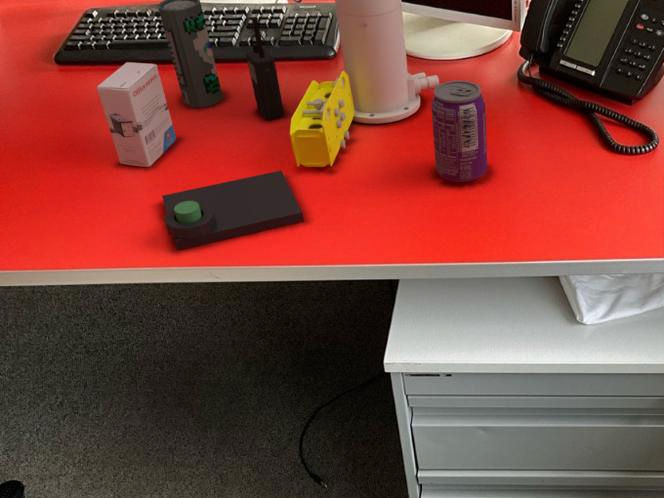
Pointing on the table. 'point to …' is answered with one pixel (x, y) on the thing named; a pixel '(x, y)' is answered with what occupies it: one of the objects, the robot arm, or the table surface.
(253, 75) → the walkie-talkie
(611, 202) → the table surface
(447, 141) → the beverage can
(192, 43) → the can
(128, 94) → the ink box
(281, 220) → the scale
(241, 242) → the table surface
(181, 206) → the button
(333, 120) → the yellow toy chassis
